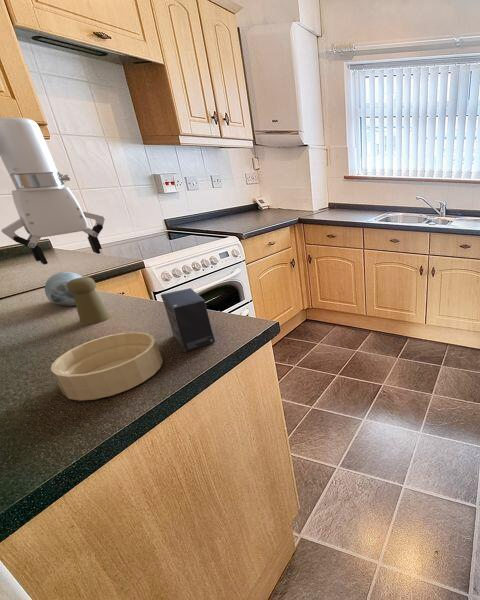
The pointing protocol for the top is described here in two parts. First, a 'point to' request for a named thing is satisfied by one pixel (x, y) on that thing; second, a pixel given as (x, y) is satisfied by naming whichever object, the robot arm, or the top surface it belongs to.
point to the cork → (87, 301)
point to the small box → (188, 318)
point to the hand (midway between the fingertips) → (72, 257)
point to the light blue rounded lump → (60, 288)
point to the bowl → (107, 365)
